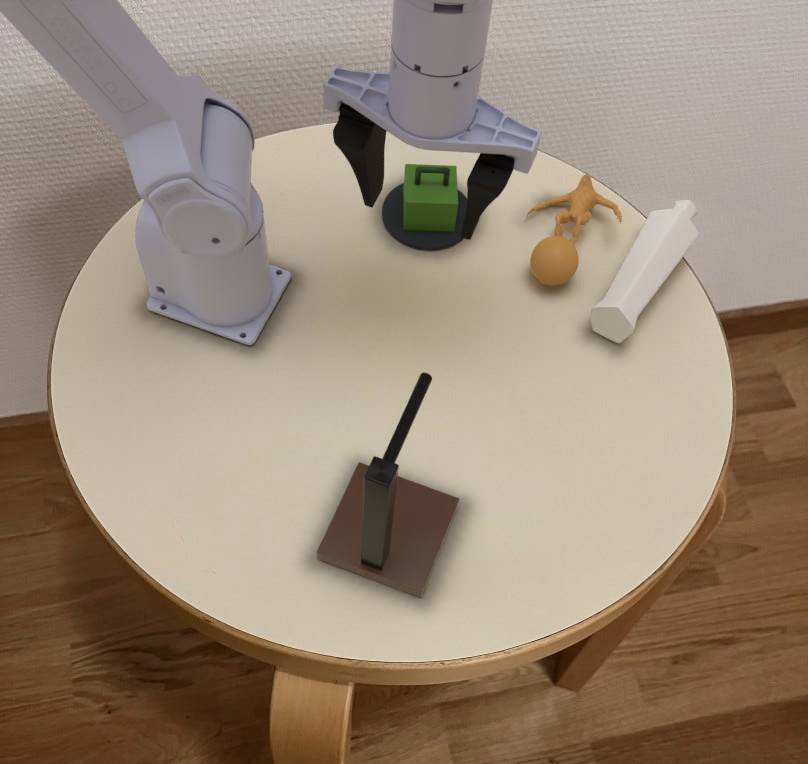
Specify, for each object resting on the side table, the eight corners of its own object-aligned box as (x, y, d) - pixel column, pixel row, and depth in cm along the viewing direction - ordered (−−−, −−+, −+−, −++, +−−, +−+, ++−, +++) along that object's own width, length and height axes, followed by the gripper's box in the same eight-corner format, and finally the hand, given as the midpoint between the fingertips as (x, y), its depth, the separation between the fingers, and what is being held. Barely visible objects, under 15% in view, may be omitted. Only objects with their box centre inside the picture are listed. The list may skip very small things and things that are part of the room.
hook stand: (316, 559, 65) (310, 464, 52) (363, 458, 68) (367, 347, 56) (420, 598, 64) (438, 511, 51) (462, 494, 68) (488, 390, 55)
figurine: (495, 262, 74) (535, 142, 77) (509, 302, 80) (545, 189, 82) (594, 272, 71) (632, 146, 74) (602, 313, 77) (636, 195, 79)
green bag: (403, 230, 78) (406, 186, 73) (403, 192, 80) (406, 147, 75) (454, 232, 78) (460, 188, 74) (452, 194, 80) (458, 149, 75)
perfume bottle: (644, 347, 73) (716, 230, 79) (628, 303, 70) (704, 186, 76) (595, 346, 76) (668, 234, 82) (578, 304, 73) (655, 192, 79)
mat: (368, 233, 78) (368, 230, 78) (401, 171, 81) (401, 167, 81) (454, 262, 77) (455, 259, 77) (484, 198, 80) (485, 195, 80)
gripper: (570, 39, 55) (529, 206, 68) (352, -28, 57) (351, 148, 69) (537, 113, 52) (500, 273, 65) (307, 41, 54) (314, 211, 66)
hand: (421, 213), depth 67 cm, fingers open, 7 cm apart
